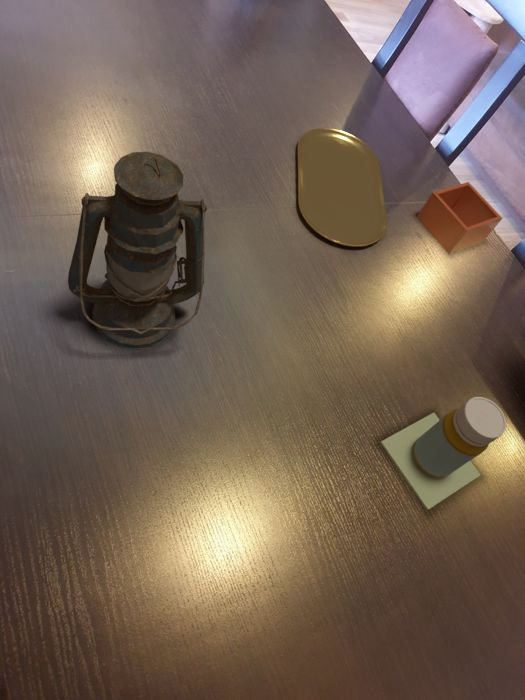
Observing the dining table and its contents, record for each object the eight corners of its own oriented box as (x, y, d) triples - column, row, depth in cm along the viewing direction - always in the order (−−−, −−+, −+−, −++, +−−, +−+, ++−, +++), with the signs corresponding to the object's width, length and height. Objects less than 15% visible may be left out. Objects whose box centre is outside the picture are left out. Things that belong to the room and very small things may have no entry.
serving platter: (296, 240, 107) (299, 234, 106) (295, 125, 126) (297, 119, 125) (388, 258, 111) (391, 253, 110) (373, 144, 130) (376, 138, 129)
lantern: (190, 283, 96) (224, 136, 71) (201, 356, 88) (242, 221, 64) (69, 282, 90) (60, 121, 65) (70, 360, 83) (60, 213, 58)
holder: (451, 205, 125) (468, 181, 119) (483, 241, 121) (502, 218, 115) (416, 216, 120) (432, 192, 114) (448, 254, 116) (467, 230, 110)
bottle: (458, 455, 90) (515, 414, 78) (442, 488, 86) (500, 451, 74) (421, 428, 91) (472, 384, 79) (403, 460, 87) (454, 419, 75)
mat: (432, 413, 94) (434, 412, 93) (478, 476, 89) (481, 474, 89) (379, 442, 88) (381, 441, 88) (426, 511, 84) (428, 509, 84)
